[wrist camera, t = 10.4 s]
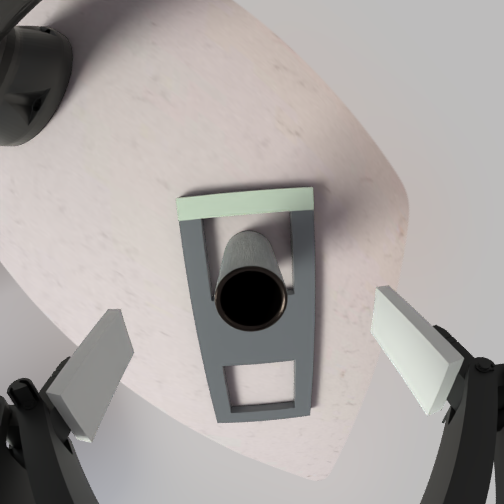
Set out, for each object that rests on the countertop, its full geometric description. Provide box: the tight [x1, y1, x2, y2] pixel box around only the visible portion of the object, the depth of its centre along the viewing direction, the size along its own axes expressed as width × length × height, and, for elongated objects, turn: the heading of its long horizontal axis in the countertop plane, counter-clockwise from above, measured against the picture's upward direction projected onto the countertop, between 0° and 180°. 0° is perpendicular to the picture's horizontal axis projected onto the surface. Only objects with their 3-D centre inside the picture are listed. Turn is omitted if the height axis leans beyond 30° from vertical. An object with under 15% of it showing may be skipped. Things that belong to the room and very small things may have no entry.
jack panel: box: [176, 186, 315, 423], centre depth 29 cm, size 28×12×1 cm, turn 5°
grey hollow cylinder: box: [214, 231, 288, 332], centre depth 22 cm, size 4×4×10 cm
